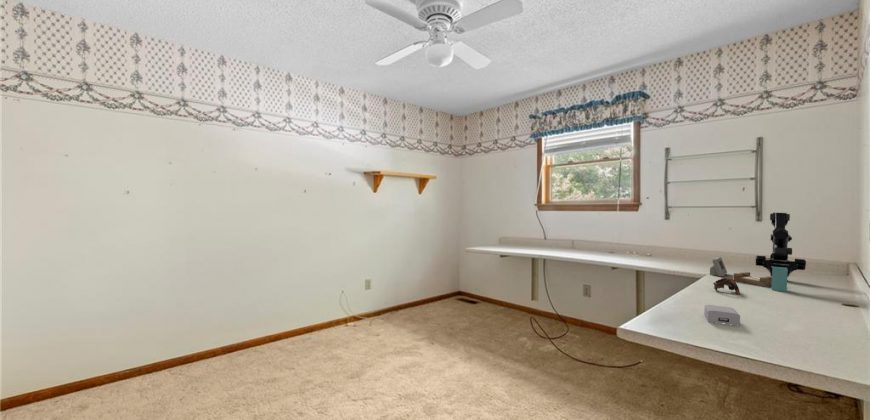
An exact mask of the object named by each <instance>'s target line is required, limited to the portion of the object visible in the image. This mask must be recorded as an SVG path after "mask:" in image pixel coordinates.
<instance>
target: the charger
mask: <svg viewBox="0 0 870 420" xmlns="http://www.w3.org/2000/svg"><path fill="white" fill-rule="evenodd" d="M704 316H705V318H706V320H707V321H708V323H710V322H717V323H725V324H732V325H740V326H741V315H740V314H739V313H738V311H737V310H736V309H734V308H733V307H730V306H722V305H713V304H705V305H704ZM717 323H716V324H717Z"/></svg>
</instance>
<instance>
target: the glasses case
mask: <svg viewBox="0 0 870 420" xmlns="http://www.w3.org/2000/svg"><path fill="white" fill-rule="evenodd" d="M787 272H788V269H787V268H786V267H775V266H772V286H771V291H777V292H784V293H788V281H787V280H788V277H787Z"/></svg>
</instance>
